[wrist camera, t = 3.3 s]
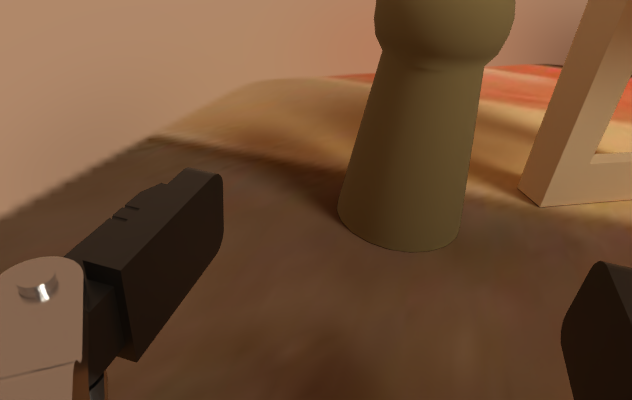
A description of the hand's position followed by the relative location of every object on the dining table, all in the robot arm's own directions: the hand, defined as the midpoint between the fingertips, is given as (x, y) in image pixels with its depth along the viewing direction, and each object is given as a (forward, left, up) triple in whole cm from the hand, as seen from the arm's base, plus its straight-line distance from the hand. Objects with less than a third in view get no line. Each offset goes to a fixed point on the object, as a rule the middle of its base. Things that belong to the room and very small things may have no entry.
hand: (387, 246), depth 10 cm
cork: (-6, -10, -6) cm, 13 cm away
